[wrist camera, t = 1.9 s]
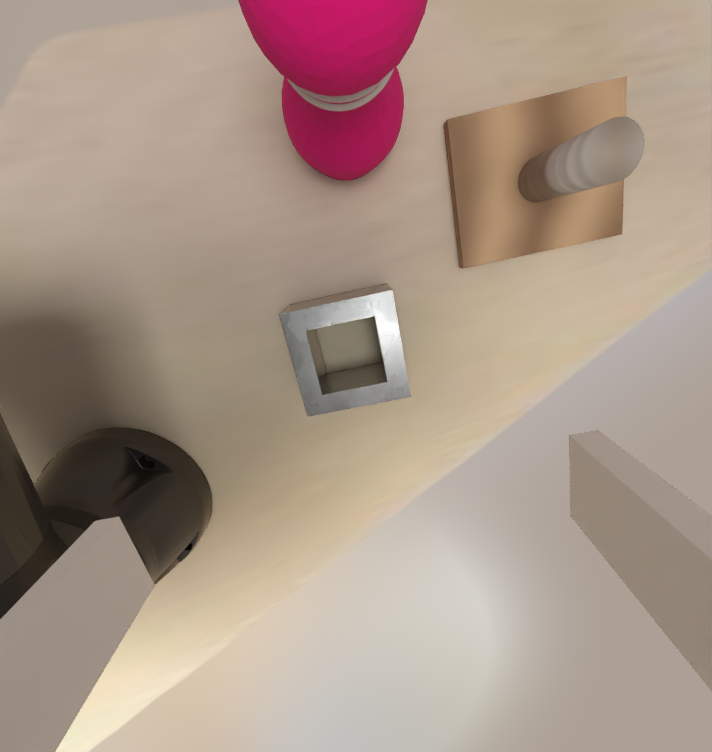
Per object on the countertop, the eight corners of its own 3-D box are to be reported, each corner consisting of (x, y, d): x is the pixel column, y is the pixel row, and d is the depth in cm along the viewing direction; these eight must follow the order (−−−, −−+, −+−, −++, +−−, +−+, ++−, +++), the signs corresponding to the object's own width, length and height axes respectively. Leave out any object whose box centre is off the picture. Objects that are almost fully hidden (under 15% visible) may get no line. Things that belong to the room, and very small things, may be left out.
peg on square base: (459, 267, 29) (503, 275, 21) (444, 124, 26) (488, 62, 17) (613, 234, 28) (724, 228, 20) (616, 82, 25) (751, -3, 17)
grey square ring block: (314, 392, 33) (307, 416, 28) (290, 304, 30) (279, 314, 25) (402, 374, 32) (410, 396, 27) (386, 283, 29) (392, 290, 25)
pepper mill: (368, 47, 24) (416, -646, 6) (411, 157, 27) (554, -71, 8) (275, 105, 25) (48, -313, 7) (324, 206, 28) (260, 112, 9)
